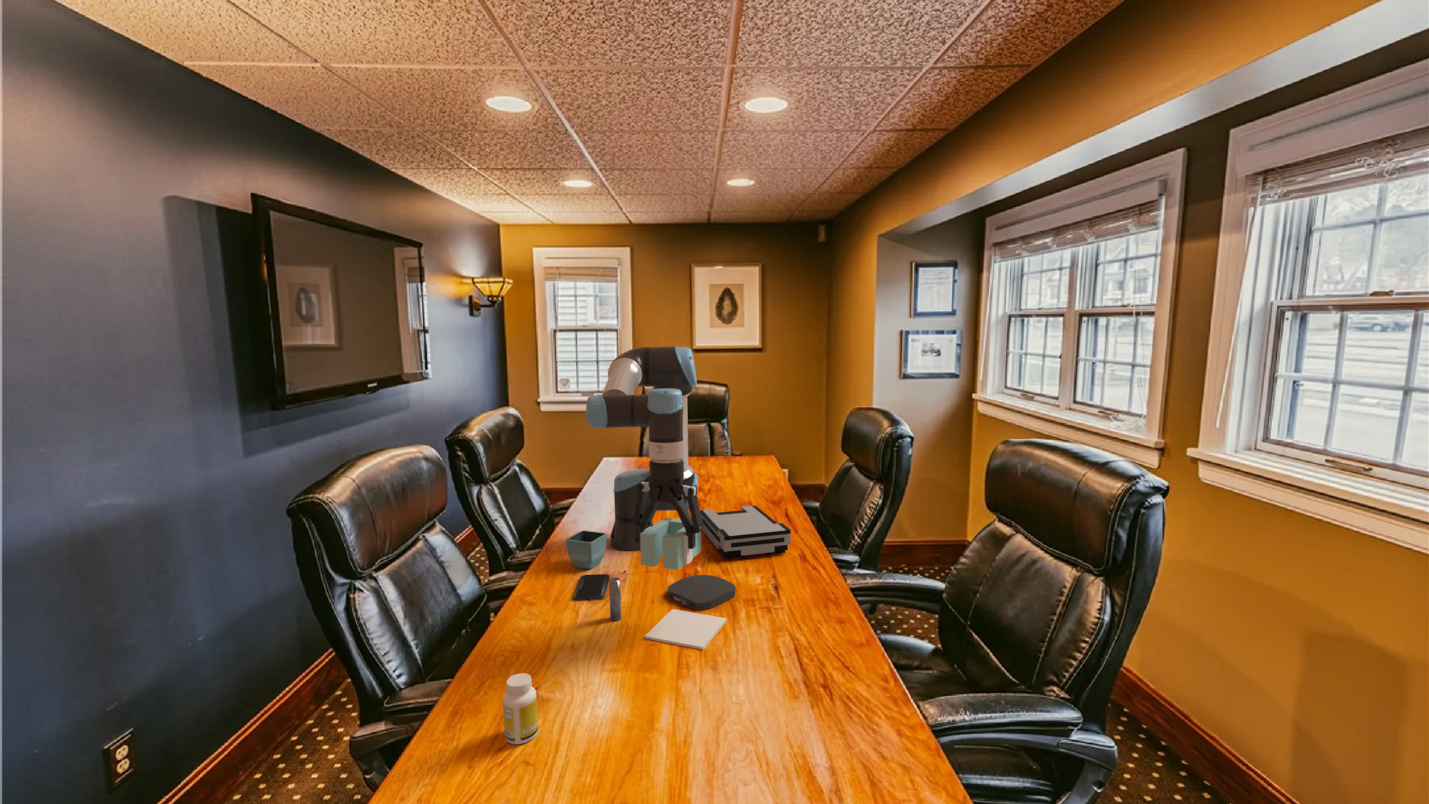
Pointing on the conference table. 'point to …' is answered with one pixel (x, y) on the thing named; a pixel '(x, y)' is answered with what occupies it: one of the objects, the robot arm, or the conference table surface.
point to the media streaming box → (701, 591)
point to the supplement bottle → (520, 709)
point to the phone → (592, 587)
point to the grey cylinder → (615, 599)
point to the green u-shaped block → (666, 544)
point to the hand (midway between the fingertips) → (668, 559)
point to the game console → (745, 532)
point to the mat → (686, 629)
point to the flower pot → (586, 548)
